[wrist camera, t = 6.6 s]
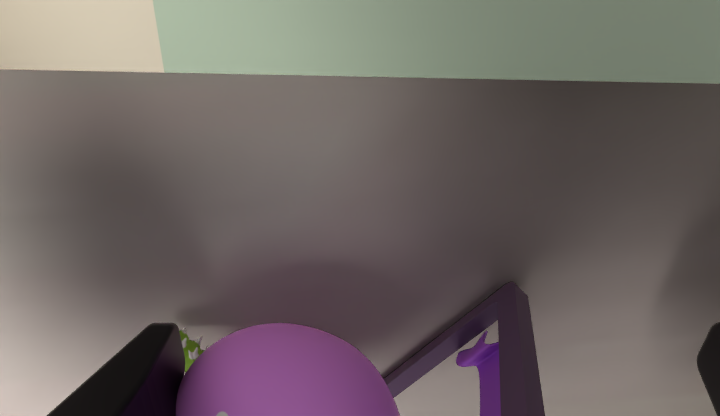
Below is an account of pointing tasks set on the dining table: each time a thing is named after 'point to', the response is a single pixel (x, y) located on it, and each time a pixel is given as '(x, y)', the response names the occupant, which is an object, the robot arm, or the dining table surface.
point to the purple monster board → (357, 368)
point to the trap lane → (79, 35)
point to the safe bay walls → (446, 39)
